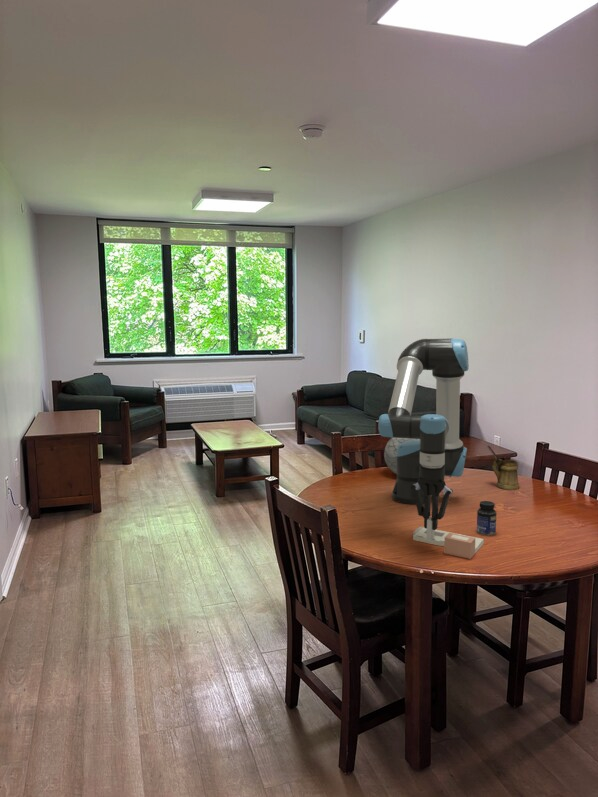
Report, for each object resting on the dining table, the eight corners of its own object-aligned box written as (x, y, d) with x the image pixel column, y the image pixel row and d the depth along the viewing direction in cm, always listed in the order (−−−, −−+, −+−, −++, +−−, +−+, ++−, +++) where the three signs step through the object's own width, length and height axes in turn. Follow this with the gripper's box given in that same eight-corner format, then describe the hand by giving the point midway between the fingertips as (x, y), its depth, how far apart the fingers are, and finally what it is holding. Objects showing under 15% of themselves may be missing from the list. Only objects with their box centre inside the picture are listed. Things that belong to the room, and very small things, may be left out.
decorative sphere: (376, 472, 266) (376, 431, 263) (412, 468, 273) (412, 427, 271) (398, 483, 248) (399, 439, 245) (436, 478, 255) (437, 435, 252)
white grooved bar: (413, 540, 183) (413, 535, 183) (423, 531, 190) (423, 526, 190) (475, 553, 172) (475, 548, 172) (483, 543, 180) (483, 538, 179)
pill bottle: (493, 539, 185) (494, 507, 183) (474, 536, 188) (475, 504, 186) (497, 533, 190) (498, 501, 188) (479, 530, 193) (480, 498, 192)
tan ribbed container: (484, 483, 247) (485, 443, 245) (516, 484, 245) (518, 443, 243) (487, 489, 238) (489, 447, 236) (521, 490, 236) (523, 448, 234)
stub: (444, 553, 172) (444, 537, 172) (449, 548, 176) (449, 532, 175) (470, 559, 168) (470, 542, 167) (474, 553, 172) (475, 537, 171)
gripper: (407, 465, 174) (406, 538, 177) (448, 470, 167) (446, 547, 170) (416, 459, 180) (415, 530, 183) (456, 465, 173) (454, 539, 176)
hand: (430, 538), depth 177 cm, fingers closed
